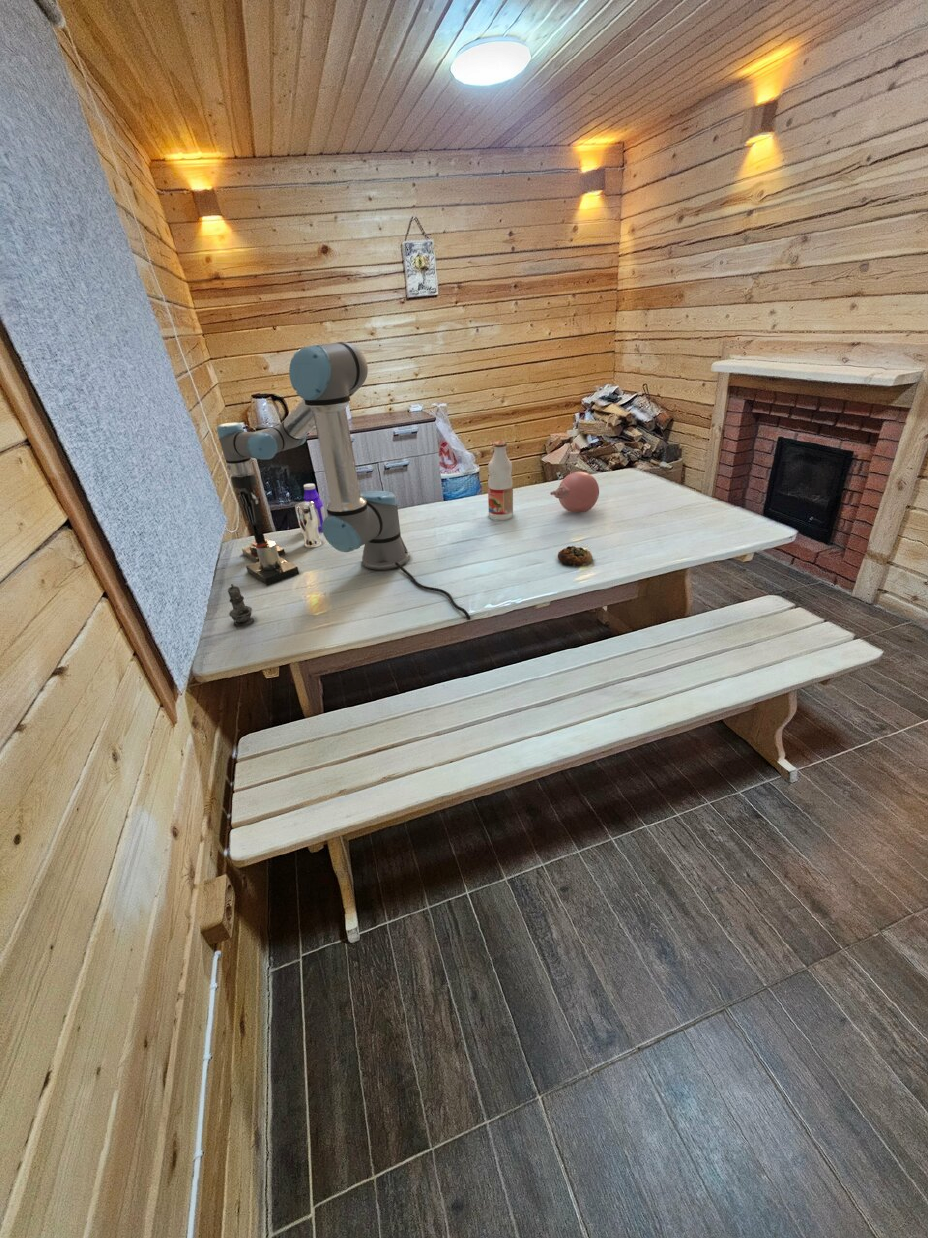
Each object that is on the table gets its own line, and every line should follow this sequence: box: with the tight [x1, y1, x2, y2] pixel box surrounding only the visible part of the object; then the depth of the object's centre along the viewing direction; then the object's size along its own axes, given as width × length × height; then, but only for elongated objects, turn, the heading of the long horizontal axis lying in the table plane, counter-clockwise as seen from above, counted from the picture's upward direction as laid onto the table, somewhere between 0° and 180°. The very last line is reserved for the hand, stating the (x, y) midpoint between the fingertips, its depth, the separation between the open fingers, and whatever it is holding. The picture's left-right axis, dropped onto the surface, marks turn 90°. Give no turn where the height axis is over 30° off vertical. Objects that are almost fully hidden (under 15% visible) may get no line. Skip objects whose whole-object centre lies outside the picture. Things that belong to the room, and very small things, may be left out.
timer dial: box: [256, 540, 281, 570], centre depth 165 cm, size 6×6×8 cm
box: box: [241, 538, 286, 563], centre depth 181 cm, size 12×10×4 cm
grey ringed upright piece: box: [227, 583, 255, 629], centre depth 139 cm, size 6×6×12 cm
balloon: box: [550, 471, 600, 514], centre depth 197 cm, size 15×20×15 cm
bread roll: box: [557, 545, 593, 567], centre depth 165 cm, size 11×11×5 cm
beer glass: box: [294, 501, 323, 549], centre depth 184 cm, size 7×7×15 cm
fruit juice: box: [487, 440, 514, 521], centre depth 195 cm, size 9×9×28 cm
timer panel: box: [245, 556, 300, 587], centre depth 168 cm, size 14×11×3 cm
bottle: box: [303, 483, 326, 532], centre depth 196 cm, size 7×6×17 cm
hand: (260, 541), depth 180 cm, fingers closed
